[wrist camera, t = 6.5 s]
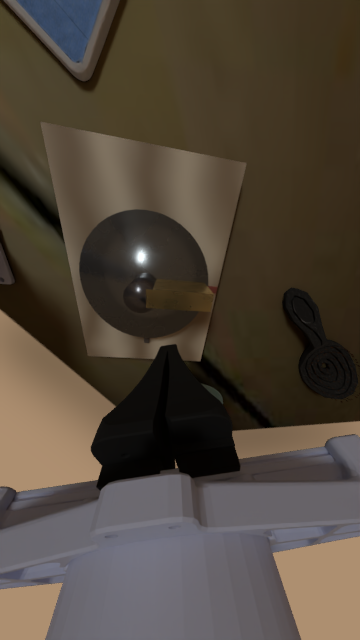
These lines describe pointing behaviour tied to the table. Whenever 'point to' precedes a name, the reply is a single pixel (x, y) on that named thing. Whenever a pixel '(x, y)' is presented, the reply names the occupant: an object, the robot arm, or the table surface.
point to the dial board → (144, 194)
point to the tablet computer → (69, 29)
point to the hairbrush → (320, 350)
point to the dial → (144, 274)
